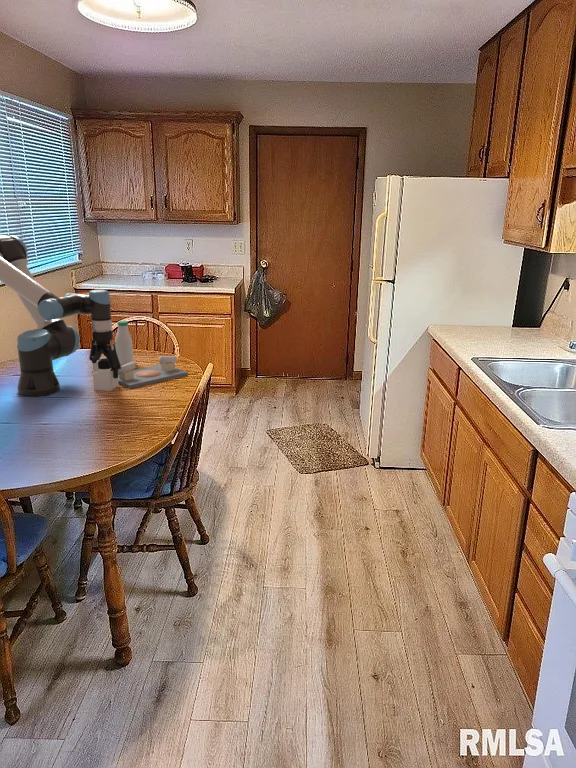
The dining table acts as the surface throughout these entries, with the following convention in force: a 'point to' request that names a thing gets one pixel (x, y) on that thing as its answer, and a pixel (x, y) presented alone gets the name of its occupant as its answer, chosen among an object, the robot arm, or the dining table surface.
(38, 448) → the dining table surface
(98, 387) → the medicine bottle
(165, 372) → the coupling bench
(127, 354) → the milk bottle
